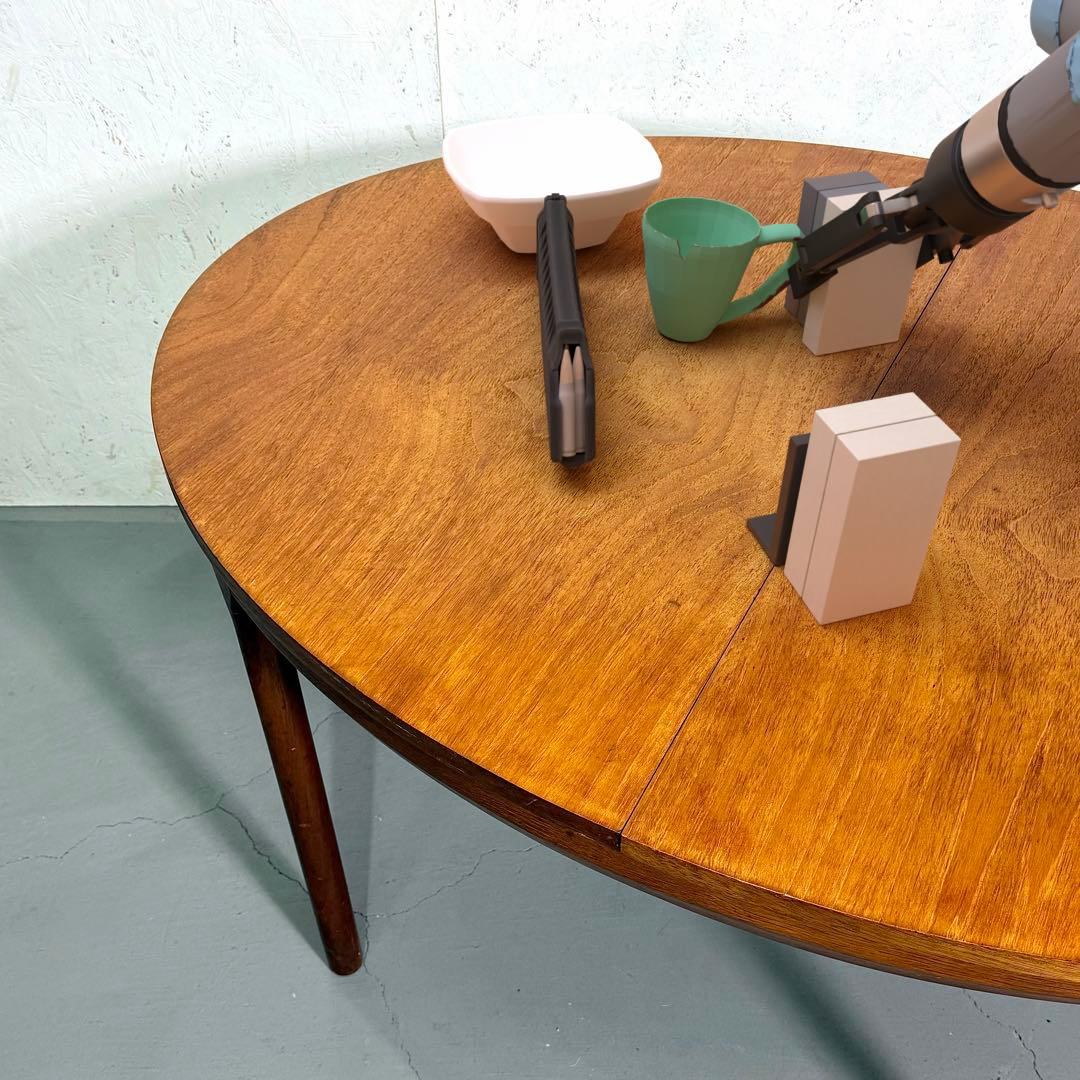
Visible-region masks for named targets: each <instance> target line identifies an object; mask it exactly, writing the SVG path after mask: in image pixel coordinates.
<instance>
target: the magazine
mask: <svg viewBox="0 0 1080 1080" xmlns="http://www.w3.org/2000/svg"><path fill="white" fill-rule="evenodd" d="M573 229H574V219H573V215H572V214H571V212H570V211H569V209H568V208H567V199H566V197H565V196H564V195H559V193H551V195H547V196H546V197H545V198H544V207H543V209H542V210H541V211H540V213H539V214H538V216H537V219H536V253H535V254H536V267H535V268H536V271H535V273H536V275H535V276H536V280H537V289H538V291H537V292H538V306H539V307H538V308H539V324H540V325H539V326H540V340H541V354H542V355H541V356H542V368H543V369H542V370H543V385H544V397H545V409H546V421H547V430H548V449H549V457H550V460H551V461H552V463H553V464H554V463H559V464H560V465H562V466H563V467H564V468H567V469H569V468H570V469H572V468H581V467H582V466H583V465H585V464H586V463H592V462H593V461H594V460H595V458H596V428H597V427H596V425H597V424H596V421H597V419H596V417H597V416H596V412H597V411H596V409H597V408H596V407H597V406H596V372H595V367H594V363H593V358H592V356H591V353H590V347H589V342H588V336H587V330H586V326H585V325H586V324H585V318H584V313H583V312H584V310H583V305H582V298H581V290H580V289H581V287H580V283H579V273H578V263H577V255H576V254H577V253H576V250H575V244H574V241H575V240H574V233H573Z"/></svg>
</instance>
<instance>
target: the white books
mask: <svg viewBox="0 0 1080 1080" xmlns="http://www.w3.org/2000/svg"><path fill="white" fill-rule="evenodd" d="M961 443H962V439H961V437H959V435H957V433H956V432H955V431H953V430H952V428H950V426H948V425H947V424H946V423H945V421H944V420H942V419H941V418H940V417H939V416H937V415H936V413H935V412H934V411H933V410H932V409H931V407H929V406H928V405H927V404H926V403H925V402H923V400H921V398H920V397H919V396H917V394H915V392H914V391H911V392H906V393H901V394H900V393H899V394H894V395H891V396H889V395H888V396H885V397H880V398H879V397H878V398H875V399H869V400H864V401H858V402H853V403H848V404H843V405H837V406H832V407H827V408H821V409H815V410H814V414H813V419H812V425H811V430H810V432H807V433H801V434H796V435H791V436H790V437H789V440H788V446H787V452H786V457H785V461H784V462H785V463H784V468H783V474H782V479H781V485H780V491H779V495H778V496H779V497H778V502H777V507H776V512H773V513H768V514H763V515H758V516H754V517H750V518H747V519H746V523H745V525H746V527H747V528H748V530H749V531H750V533H751V535H753V536H752V537H754V539H755V540H756V541H757V543H758V544H759V547H761V549H762V550H763V551H764V553H765V555H767V557H768V559H769V560H770V562H771V563H772V564H773V566H774V567H777V566H782V565H784V569H783V574H784V576H785V578H786V579H787V581H788V582H789V583H790V585H791V586H792V588H793V589H794V591H795V592H796V593H797V595H798V596H799V598H800V599H801V600H802V602H803V603H804V604H805V606H806V607H807V609H808V610H809V611H810V613H811V614H812V616H813V617H814V619H815V620H816V622H817V623H818V624H819V626H824V625H828V624H833V623H835V622H836V623H837V622H840V621H845V620H849V619H854V618H857V617H861V616H866V615H869V614H874V613H879V612H882V611H886V610H891V609H895V608H900V607H903V606H908V605H911V604H912V601H913V597H914V595H915V591H916V589H917V585H918V582H919V578H920V575H921V572H922V570H923V566H924V564H925V563H924V562H925V559H926V556H927V553H928V549H929V547H930V543H931V541H932V537H933V534H934V530H935V526H936V523H937V520H938V517H939V514H940V511H941V508H942V504H943V501H944V498H945V494H946V491H947V488H948V486H949V485H948V484H949V482H950V479H951V475H952V472H953V468H954V465H955V463H956V459H957V456H958V453H959V450H960V446H961Z"/></svg>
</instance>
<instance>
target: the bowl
mask: <svg viewBox="0 0 1080 1080" xmlns="http://www.w3.org/2000/svg"><path fill="white" fill-rule="evenodd" d="M441 155H442V156H441V157H442V158H441V159H442V163H443V166H444V170H445V171H446V173H447V174H448V176H449V178H450V179H451V180H452V182H453V184H454V185H455V187H456V188H457V190H458V191H459V193H460V195H461V196H462V198H463V199H464V201H465V202H466V204H467V205H468V206H469V207H470V209H471V210H473V212H475V214H476V215H477V216H478V217H479V218H481V219H483V220H484V221H486V222H487V223H489V224H490V226H491V227H492V228H493V230H494V231H495V233H496V235H497V236H498V238H499V239H500V240H501V241H502V242H503V243H504V244H505V245H506V246H507V247H508V248H509V249H510V250H511V251H512V252H514V253H516V254H517V253H519V254H536V219H537V216H538V214H539V213H540V211H541V210H542V209H543V207H544V198H545V197H546V196H547V195H551V193H559V195H564V196H565V197H566V199H567V208H568V209H569V211H570V212H571V214H572V215H573V219H574V229H573V233H574V240H575V241H574V244H575V251H576V250H581V249H586V248H589V247H594V246H598V245H601V244H603V243H606V242H607V241H608V239H609V238H610V237H611V235H612V234H613V233H614V231H615V230H616V229H617V227H618V226H619V224H620V223H621V222H622V220H623V219H624V218H625V217H626V215H627V214H629V213H632V212H635V211H639V210H640V209H642V208H643V207H644V206H645V204H646V203H647V201H648V200H649V199H650V198H651V196H652V194H653V193H654V192H655V190H656V189H657V188H658V186H659V185H660V184H661V183H662V179H663V172H664V167H663V164H662V162H661V160H660V157H659V155H658V153H657V152H656V150H655V148H654V147H653V145H652V143H651V142H650V141H649V140H648V139H647V138H645V137H644V135H642V134H641V132H639V131H638V130H637V129H635V128H634V127H632V126H631V125H630V124H628V122H625V121H624V120H621V119H619V118H617V117H615V116H612V115H610V114H603V113H601V114H600V113H584V112H583V113H553V114H539V115H538V114H537V115H525V116H517V117H512V118H511V117H508V118H502V119H501V118H500V119H493V120H487V121H482V122H475V123H471V124H466V125H463V126H459V127H455V128H451V129H449V130H448V132H446V135H445V137H444V139H443V140H442V141H441Z"/></svg>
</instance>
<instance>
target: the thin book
mask: <svg viewBox="0 0 1080 1080" xmlns="http://www.w3.org/2000/svg"><path fill="white" fill-rule="evenodd" d="M910 186H911V185H909V186H902V187H901V186H900V187H894V188H892V189H887V190H880V191H878V192H879V194H880V197H881V201H884V200H885V199H887V198H889V197H891V196H893V195H895V194H897V193H899V192H901V191H903V190H904V189H906V188H908V187H910ZM867 193H868V192H866V193H859V194H852V195H845V196H838V197H831V198H827V203H826V209H825V214H824V220H823V225H824V224H826V223H828V222H829V221H831V220H832V219H834V218H835V217H837V216H838V215H840V214H842V213H843V212H845V211H846V210H848V209H849V208H851V207H852V206H854V205H855V204H856V203H857V202H858V201H859V199H860V198H861V197H862V196H863V195H865V194H867ZM823 225H822V226H823ZM905 228H906V232H907V231H909V230H910V229H908V228H907V227H906V226H905ZM922 240H923V237H920V238H918V239H916V240H914V241H911V242H909V243H907V244H904V245H903V244H892V243H891V244H889V245H887V246H885V247H883V248H880V249H878V250H876V251H874V252H872V253H869V254H867V255H865V256H863V257H861V258H859V259H856V260H854V261H852V262H850V263H848V264H845V265H843V266H841V267H839V268H837V269H838V274H836V275H835V276H833V277H832V278H830V279H829V280H828V281H826V282H825V283H823V284H822V285H820V286H819V287H818V288H816V289H815V290H813V291H812V292H811V293H810V299H809V304H808V310H807V316H806V321H805V327H803V333H802V337H801V338H802V339H801V342H802V343H803V345H805V347H806V348H807V349H808V350H809V351H810V352H811V353H812V354H813V355H814V356H815V357H817V356H822V355H823V356H824V355H828V354H833V353H840V352H845V351H851V350H857V349H862V348H866V347H872V346H878V345H884V344H888V343H895V342H898V341H899V338H900V333H901V330H902V329H901V328H902V325H903V322H904V321H903V320H904V317H905V313H906V308H907V304H908V302H909V301H908V300H909V296H910V292H911V288H912V283H913V279H914V276H915V272H916V270H915V268H916V264H917V260H918V256H919V252H920V248H921V244H922Z"/></svg>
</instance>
